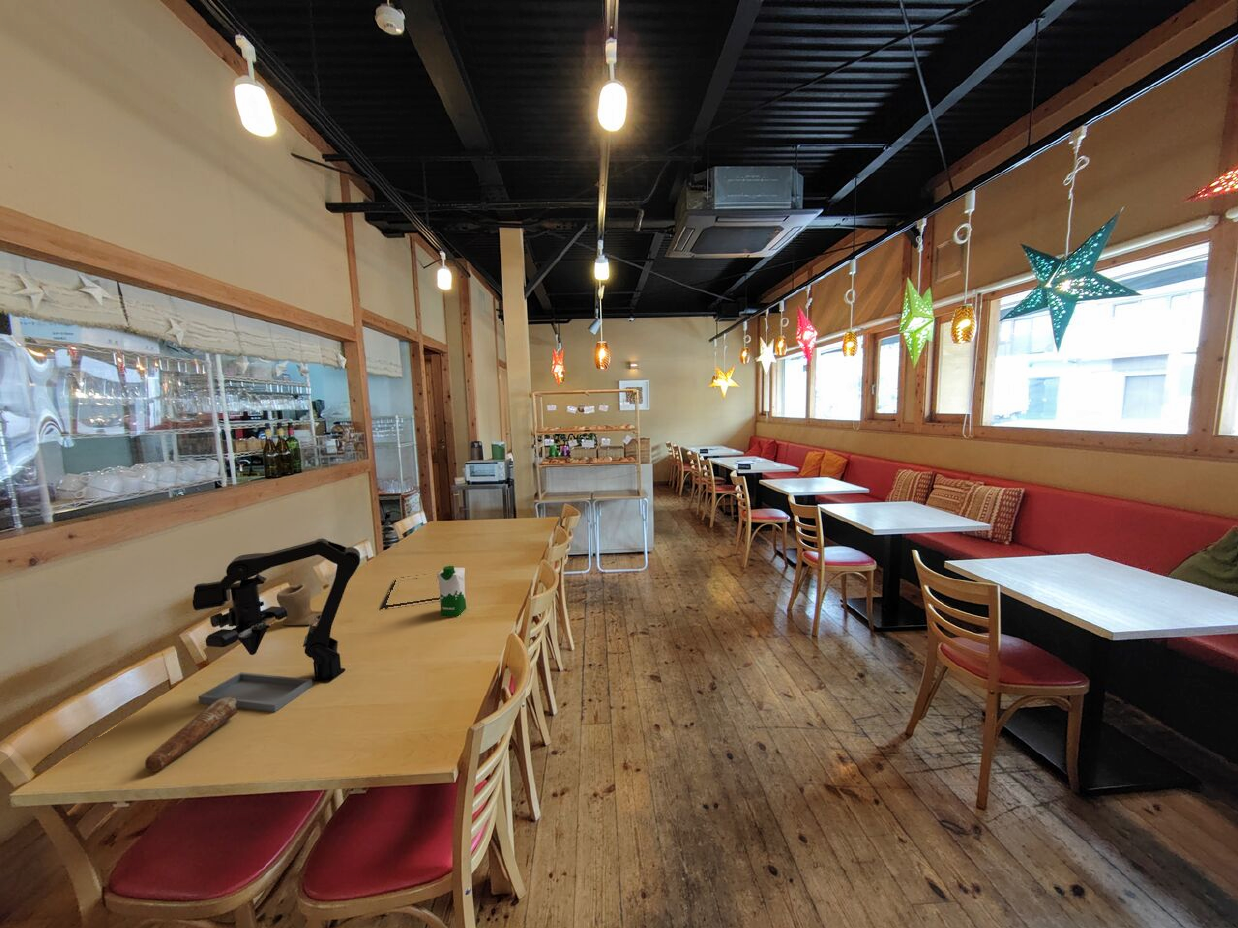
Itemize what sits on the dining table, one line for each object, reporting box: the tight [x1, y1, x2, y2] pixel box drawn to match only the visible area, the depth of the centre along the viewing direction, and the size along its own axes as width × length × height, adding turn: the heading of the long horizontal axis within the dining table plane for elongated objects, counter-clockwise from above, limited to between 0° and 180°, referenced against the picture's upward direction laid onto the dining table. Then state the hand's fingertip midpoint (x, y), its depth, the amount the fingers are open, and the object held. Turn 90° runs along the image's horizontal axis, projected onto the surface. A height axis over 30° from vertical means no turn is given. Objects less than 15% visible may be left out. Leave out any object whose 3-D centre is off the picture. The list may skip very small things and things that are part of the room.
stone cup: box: [276, 583, 323, 626], centre depth 171 cm, size 15×12×15 cm
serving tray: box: [198, 671, 313, 713], centre depth 127 cm, size 25×12×2 cm, turn 80°
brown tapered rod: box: [144, 697, 239, 773], centre depth 108 cm, size 6×19×6 cm, turn 174°
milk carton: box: [437, 565, 467, 617], centre depth 175 cm, size 9×9×20 cm
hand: (252, 654), depth 125 cm, fingers closed
